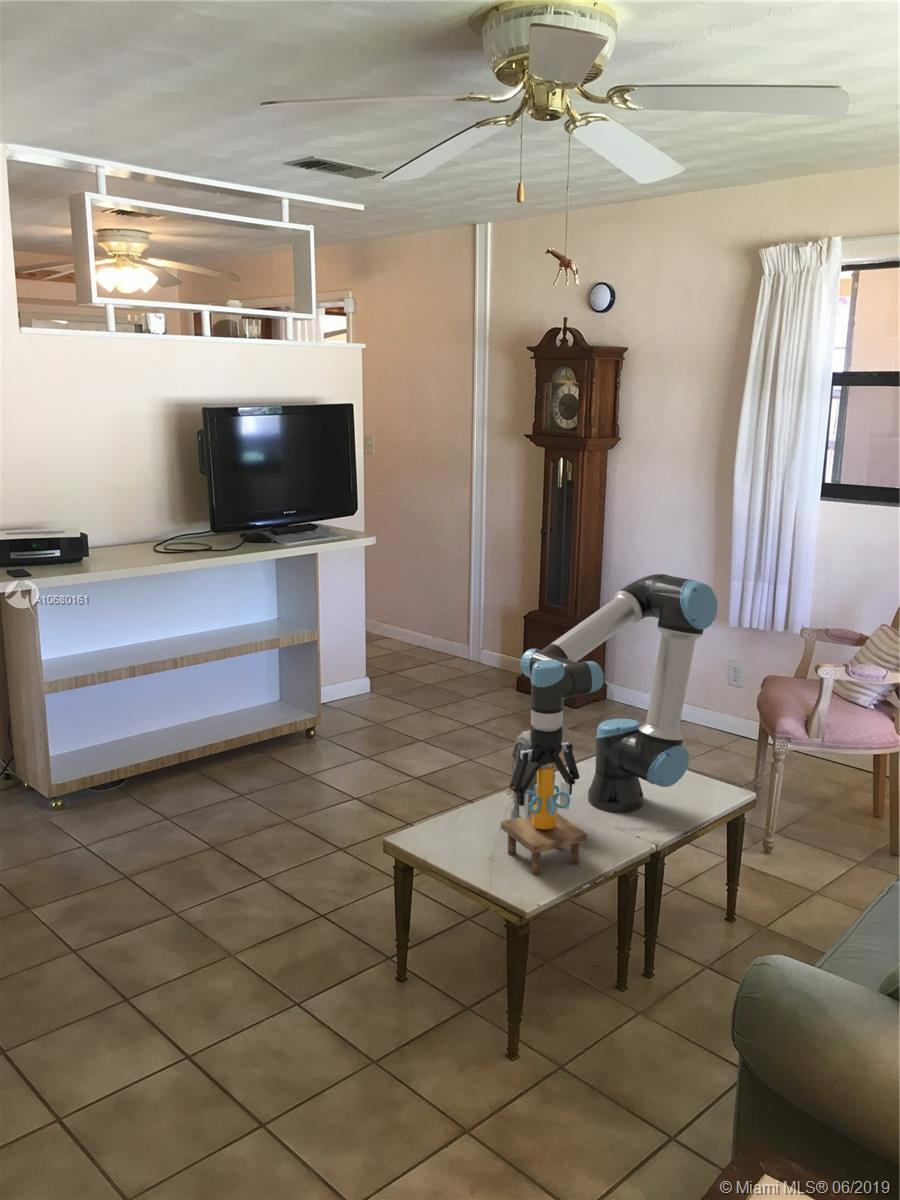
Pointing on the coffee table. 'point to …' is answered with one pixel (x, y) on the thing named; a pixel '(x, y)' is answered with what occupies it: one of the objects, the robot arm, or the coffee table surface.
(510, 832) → the small wooden table
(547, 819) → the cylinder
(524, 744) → the figurine
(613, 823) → the coffee table surface
